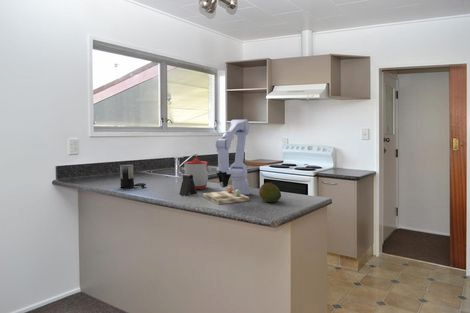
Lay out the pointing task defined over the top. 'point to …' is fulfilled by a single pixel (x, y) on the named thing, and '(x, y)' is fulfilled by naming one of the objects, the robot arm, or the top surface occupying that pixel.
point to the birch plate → (225, 197)
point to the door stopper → (188, 185)
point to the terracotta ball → (229, 189)
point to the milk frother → (128, 177)
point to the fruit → (269, 192)
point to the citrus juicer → (198, 172)
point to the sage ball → (238, 192)
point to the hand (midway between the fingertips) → (223, 185)
